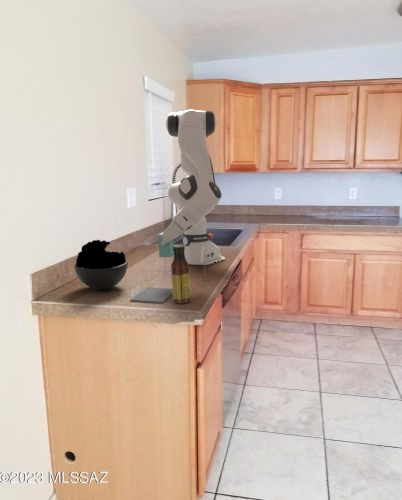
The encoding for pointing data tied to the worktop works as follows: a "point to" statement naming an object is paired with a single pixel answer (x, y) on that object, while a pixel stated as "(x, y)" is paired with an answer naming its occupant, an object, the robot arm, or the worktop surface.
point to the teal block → (165, 247)
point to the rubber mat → (153, 295)
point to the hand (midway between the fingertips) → (164, 242)
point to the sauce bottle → (180, 276)
